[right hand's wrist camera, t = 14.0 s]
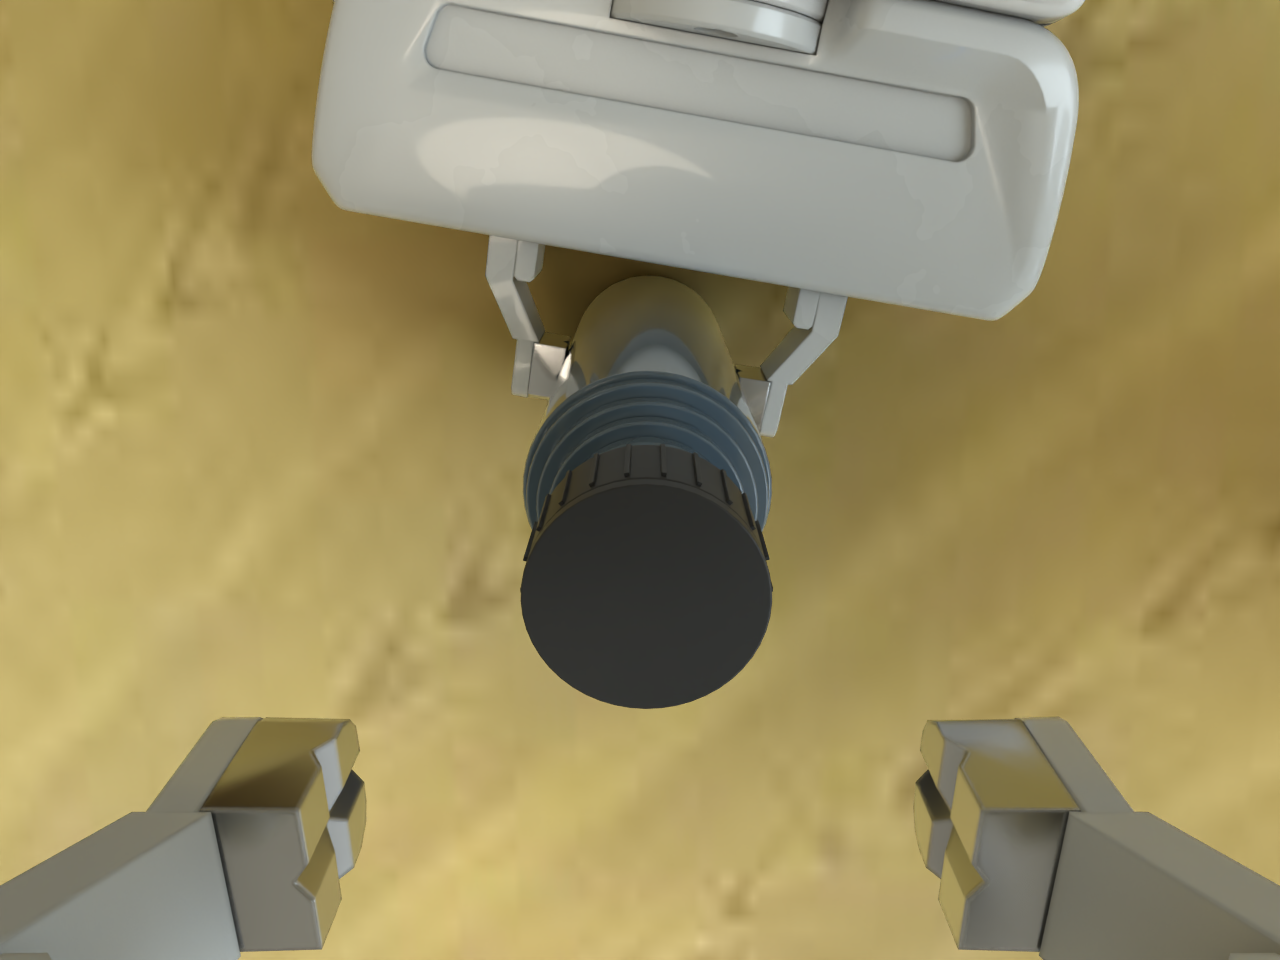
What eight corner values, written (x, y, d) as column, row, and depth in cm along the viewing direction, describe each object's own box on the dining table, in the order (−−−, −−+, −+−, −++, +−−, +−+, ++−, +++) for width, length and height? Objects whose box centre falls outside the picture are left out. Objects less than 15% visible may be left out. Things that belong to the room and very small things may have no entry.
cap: (780, 456, 16) (797, 499, 14) (739, 661, 17) (750, 726, 15) (544, 426, 16) (529, 464, 14) (523, 635, 17) (507, 697, 15)
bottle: (733, 286, 32) (836, 461, 14) (709, 429, 34) (774, 742, 16) (583, 265, 32) (499, 418, 14) (567, 410, 33) (475, 706, 16)
